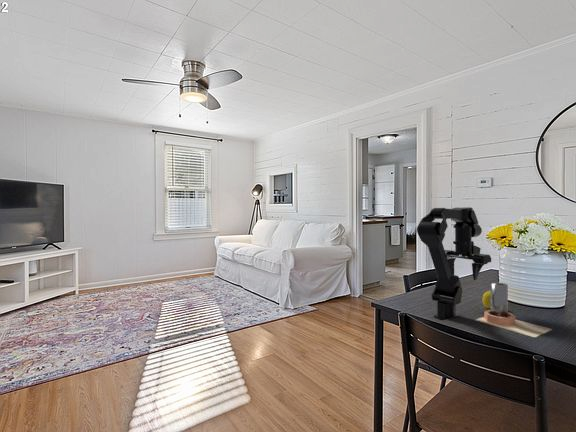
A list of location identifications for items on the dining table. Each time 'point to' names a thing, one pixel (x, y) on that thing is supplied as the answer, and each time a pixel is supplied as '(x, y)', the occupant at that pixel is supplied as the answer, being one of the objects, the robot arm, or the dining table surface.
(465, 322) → the dining table surface
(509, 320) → the ring
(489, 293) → the lemon
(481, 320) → the birch board
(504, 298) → the steel sleeve
